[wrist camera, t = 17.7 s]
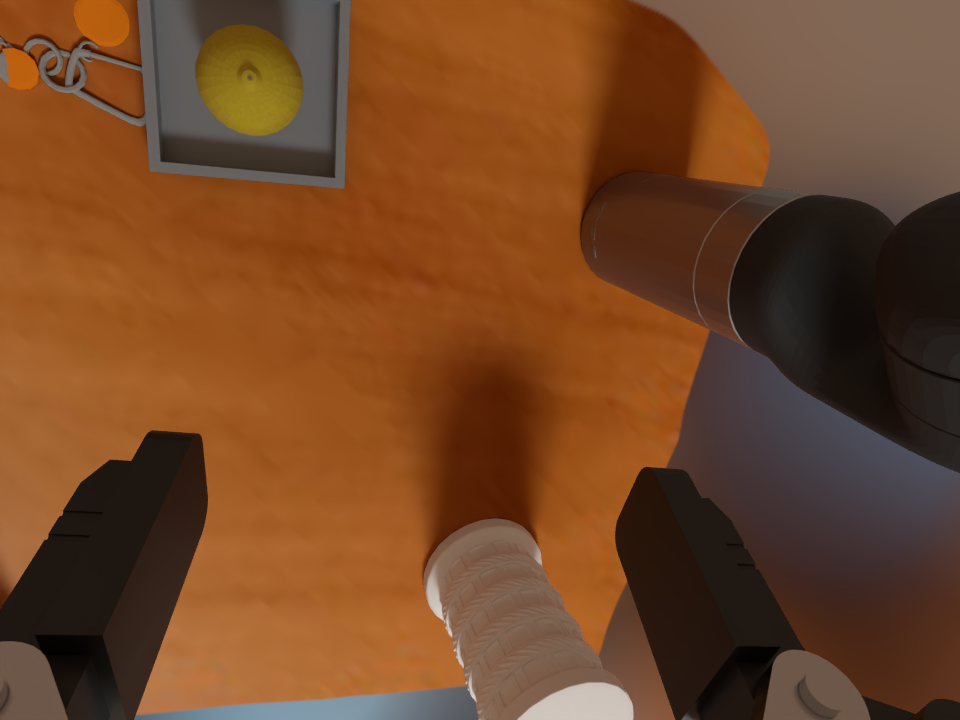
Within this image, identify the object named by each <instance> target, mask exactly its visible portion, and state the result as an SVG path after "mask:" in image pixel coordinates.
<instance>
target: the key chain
mask: <svg viewBox="0 0 960 720" xmlns="http://www.w3.org/2000/svg"><path fill="white" fill-rule="evenodd" d="M74 17H75V21H76V25H77V26H78V28H79V29H80V31H81V32H82V34H83V35H84V36H85V37H87V38H88V39H89V40H90V41H83V42H81V43H80V45H79V46H78V48H74V49H73V51H72V53H70V52H68V51H64V50H59V49H57V48H56V46H55V45H54V44H53V43H51V42H49V41H47V40H45V39H41V38H34V39H31V40H29V41H27V43H26V44H25V46H24V50H23V51H22V50H19V49H15V48H14V47H13V46H12V45H10V44H9V43H7V44H6V43H5V42H4V41H5V40H3V39H2V38H1V37H0V44H1V45H2V44H3V45H5V48H6V49H2V52H1V53H0V78H2V79H3V80H4V81H5V82H6V83H7V84H8V85H7V86H9V87H12V88H15V89H18V90H25V89H32V88H33V87H34V86H35V85H36V84H37V83H38V82H39V77H40V76H41V77H42V79H43V80H44V81H45V83H46V84H47V85H48V86H50V87H51V88H53V89H55V90H56V91H59V92H64V93H71V92H72V93H74V94H75V95H77V96H79V97H81V98H82V99H84V100H86V101H88V102H90V103H92V104H93V105H95V106H97V107H99V108H101V109H103V110H105V111H107V112H109V113H111V114H112V115H114V116H116V117H118V118H120V119H122V120H124V121H126V122H128V123H131V124H134V125H137V126H140V127H141V126H144V125H145V124H146V114H145V113H144V115H143V116H142V117H141V118H135V117H132V116H129V115H127V114H125V113H123V112H121V111H119V110H117V109H115V108H113V107H111V106H109V105H107V104H105V103H103V102H101V101H100V100H98V99H96V98H94V97H92V96H90V95H89V94H87V93H85V92H83V91H81V90H80V89H81V88H82V87H83V86H84V85H85V82H86V79H87V73H86V69H85V66H84V64H83V63H82V62H81V61H80V59H79V57H82V58H83V59H84V60H85V61H87V62H92V61H93V60H90V59H88V58H90V57H93V58H97V59H100V60H104V61H107V62H111V63H114V64H117V65H121V66H124V67H128V68H131V69H135V70H138V71H141V73H142V67H139V66H136V65H133V64H129V63H126V62H123V61H119V60H116V59H113V58H109V57H106V56H103V55H99V54H96V53H93V52H91V50H87V49H82V47H83V45H85V44H91V45H93V46H94V47H96V48H97V49H98V46H97V45H96V44H98V45H101V46H116V45H118V44H120V43H122V42H123V41H124V40H125V39H126V37H127V36H128V33H129V28H130V24H129V19H128V15H127V13H126V11H125V10H124V8H123V7H122V5H121V4H120V3H119V2H118V1H116V0H77V2H76V3H75V7H74ZM91 41H92V42H91ZM95 43H96V44H95ZM35 44H44V45H46V46H48V47H50V48H51V49H52V50H50V51H47V52H46V53H45V54H44V55H43V56H41V58H40V61H39V65H38V66H37V63H36V61H35V60H34V59H33V58H31V57H30V56H29V50H30V48H31V47H32V46H33V45H35ZM54 56H56V57H57V65H56V67H55V68H54V69H53V70H50V71H46V68H45V67H46V64H47V61H48V60H49V59H50V58H51V57H54ZM62 56H64V57H68V58H69V62H68V66H67V70H66V77H65V87H64V86H59V85H57V84H56V83H54V82H53V81H51V79H50V78H49V77H48V76H53V75H56V74H58V73H59V72H60V70H61V69H62V66H63V58H62ZM86 57H88V58H86ZM76 65H77V66H78V68H79V71H80V78H79V81H78V82H77V83H76V84H75V85H74V84H73V77H74V72H75V68H76ZM142 74H143V73H142Z"/></svg>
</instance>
